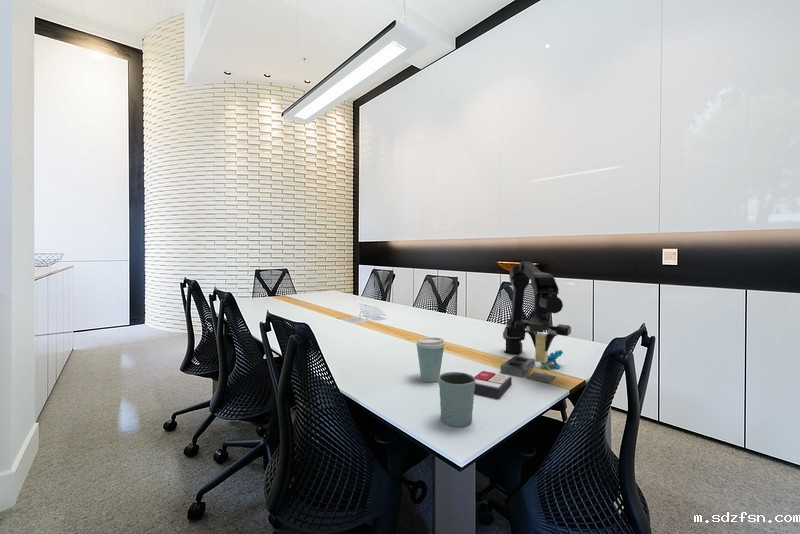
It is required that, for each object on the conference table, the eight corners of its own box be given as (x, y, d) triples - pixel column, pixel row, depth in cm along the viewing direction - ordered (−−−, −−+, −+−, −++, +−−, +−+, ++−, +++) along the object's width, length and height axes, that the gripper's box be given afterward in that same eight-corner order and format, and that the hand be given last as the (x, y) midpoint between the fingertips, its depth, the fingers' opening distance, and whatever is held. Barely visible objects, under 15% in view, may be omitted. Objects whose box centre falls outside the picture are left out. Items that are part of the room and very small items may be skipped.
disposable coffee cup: (412, 382, 127) (412, 340, 127) (420, 372, 138) (420, 334, 137) (440, 386, 124) (441, 343, 123) (447, 375, 134) (447, 336, 133)
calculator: (512, 375, 125) (499, 386, 113) (511, 387, 125) (498, 400, 113) (482, 369, 131) (466, 380, 118) (481, 381, 131) (466, 392, 118)
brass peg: (535, 361, 131) (535, 334, 131) (538, 359, 134) (538, 332, 133) (544, 363, 129) (545, 335, 128) (547, 360, 132) (548, 334, 131)
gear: (553, 358, 150) (565, 346, 143) (562, 370, 147) (574, 359, 140) (532, 364, 146) (544, 352, 139) (541, 377, 143) (553, 366, 136)
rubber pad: (526, 378, 131) (526, 377, 131) (533, 372, 137) (533, 371, 137) (549, 383, 126) (549, 382, 126) (555, 377, 132) (555, 376, 132)
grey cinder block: (500, 372, 137) (500, 365, 137) (515, 362, 150) (515, 355, 149) (521, 377, 132) (521, 369, 132) (534, 366, 145) (534, 359, 145)
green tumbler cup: (434, 424, 96) (434, 381, 96) (443, 409, 106) (443, 369, 105) (471, 431, 93) (472, 386, 92) (477, 414, 102) (478, 373, 102)
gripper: (509, 308, 130) (508, 350, 131) (564, 314, 118) (563, 360, 119) (520, 304, 139) (519, 344, 139) (571, 309, 127) (570, 352, 128)
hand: (541, 350), depth 131 cm, fingers closed on brass peg, 3 cm apart
